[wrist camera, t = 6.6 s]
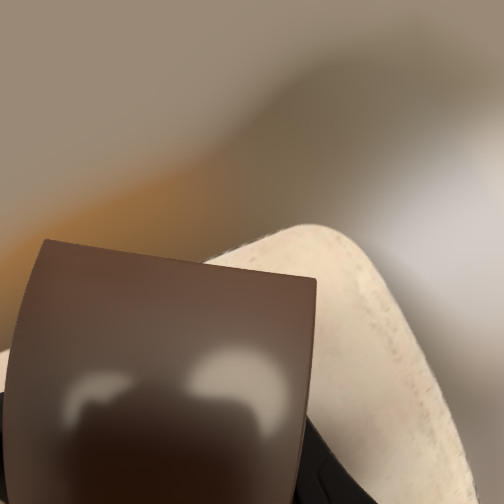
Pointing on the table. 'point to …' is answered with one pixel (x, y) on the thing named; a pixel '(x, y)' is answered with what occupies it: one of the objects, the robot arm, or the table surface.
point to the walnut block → (156, 381)
